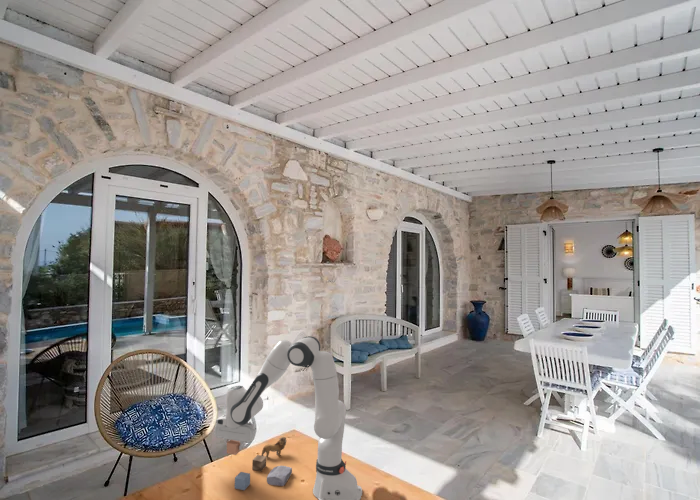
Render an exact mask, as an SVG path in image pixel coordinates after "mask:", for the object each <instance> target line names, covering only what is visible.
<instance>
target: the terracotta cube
mask: <svg viewBox="0 0 700 500" xmlns="http://www.w3.org/2000/svg"><path fill="white" fill-rule="evenodd" d="M240 444H241V443H240V441H235V440H229V442H228V443H227V448H226V454H229V455H234V456H236V455H238V454H239V453H240V452H241V451H242V449H241V450H238V446H239V445H240Z"/></svg>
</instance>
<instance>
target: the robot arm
mask: <svg viewBox="0 0 700 500" xmlns="http://www.w3.org/2000/svg"><path fill="white" fill-rule="evenodd" d="M290 365H293V366H295V367H303V368H306V369H307V368H309V367H310V368H311V373H312V379H313V385H314V386H313V387H314V388H313V389H314V394H315V395H314V396H315V397H314V398H315V400H314V401H315V404H314V424H313V430H314V433H315V435H316V436H317V437H318V442H317V459H316V462H315V463H316V464H315V472H316V474H315V475H316V476H315V481H314V485H313V489H312V494H313V495H314V496H315V498H316V499H318V500H361V499H362V497H361V496H363V489H362V486H361V485H358V480H357V478H356V476H355V474H352V473H351V471H349V470H348V469H347V468H346V465H347V460H345V461H344V460H343V459H342V457H343V455H342V454H343V438H344V432H345V423H346V414H347V407H346V405H345V403H344V401H342V400H340V399H339V395H340V387H339V386H340V385H339V380H338V372H337V368H336V367H337V366H336V363H335V359H334V357H333V354H332V353H331V352H329V351H326V350H323V351H321V342H320V340H319V339H318V338H316V337H315V336H312V335H310V336H309V335H307V336H304V337H302V338H299V339H298V340H297V341H295V342H291V341H290V340H286V339H282V340H279V341H278V342H277V343H276V344H275V345H274V346H273V348H272V349H271V350H270V352H269V353H268V355H267V356H266V359H265V360H264V361H263V363H262V365H261V367H260V369H259V370H258V373H257V375H256V376H255V378H254V380H253V381H252V383H251V384H250V385H249V387H248V388H247V389H246V388H245V387H244V386H243V385H235V386H231V388H229V389H228V390H227V391H226V395H225V409H226V411H225V414H223V415H221V416H219V417H217V419H216V420H215V426H214V436H215V438H219V439H223V441H224V443H225V447H226V448H225V449H227V443H228V442H229V441H230V440H235V441H240V443H241V444H240V445H239V446H238V450H241V451H242V449H243V445H244V443H251V442H253V440H255V430H254V429H255V426H254V424H253V423H252V422H251V421H250V420H251V419H253V418H254V417H255V416H257V414H259V413H260V412H261V411H262V409H263V407H264V401H263V398H262V397H261V395H262V394H263V392H264V391H266V390H267V389H268V388H269V387H270V386H272V385H273V384H274V383H276V382H277V381H278V380H279V379H281V377H283V375H284V374H285V372H286V371H287V370H288V368H289V367H290Z"/></svg>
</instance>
